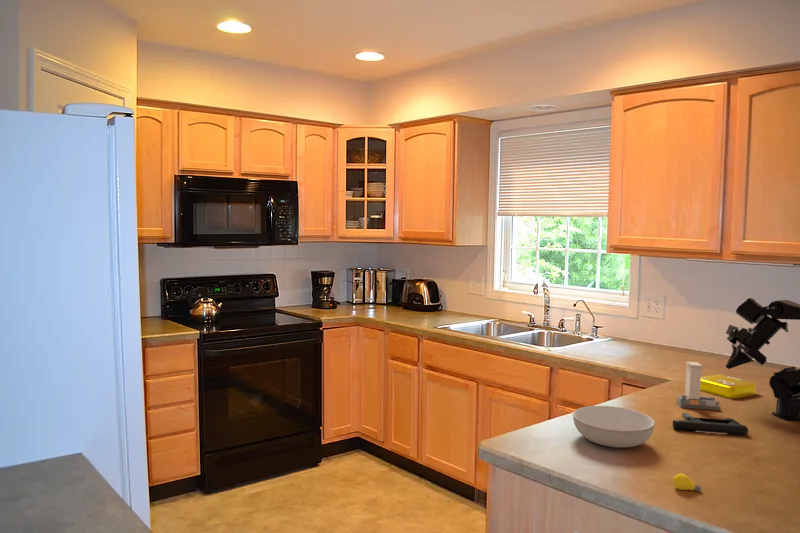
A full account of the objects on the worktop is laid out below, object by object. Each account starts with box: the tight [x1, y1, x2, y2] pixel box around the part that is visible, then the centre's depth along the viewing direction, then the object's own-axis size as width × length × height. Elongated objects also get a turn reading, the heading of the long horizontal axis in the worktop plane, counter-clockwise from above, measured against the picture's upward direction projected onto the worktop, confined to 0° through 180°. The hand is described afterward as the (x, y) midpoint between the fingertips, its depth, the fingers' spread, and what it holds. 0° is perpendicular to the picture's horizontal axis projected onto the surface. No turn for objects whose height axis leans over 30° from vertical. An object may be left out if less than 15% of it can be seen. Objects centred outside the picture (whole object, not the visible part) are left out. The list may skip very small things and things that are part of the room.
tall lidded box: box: [684, 360, 703, 400], centre depth 202 cm, size 4×5×13 cm
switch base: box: [676, 394, 721, 411], centre depth 202 cm, size 12×5×3 cm, turn 80°
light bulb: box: [672, 473, 702, 492], centre depth 138 cm, size 3×6×4 cm, turn 74°
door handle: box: [672, 412, 749, 436], centre depth 183 cm, size 3×20×16 cm
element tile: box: [700, 373, 757, 399], centre depth 223 cm, size 15×15×5 cm
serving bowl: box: [572, 405, 656, 448], centre depth 168 cm, size 21×21×7 cm
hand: (726, 367), depth 202 cm, fingers closed
